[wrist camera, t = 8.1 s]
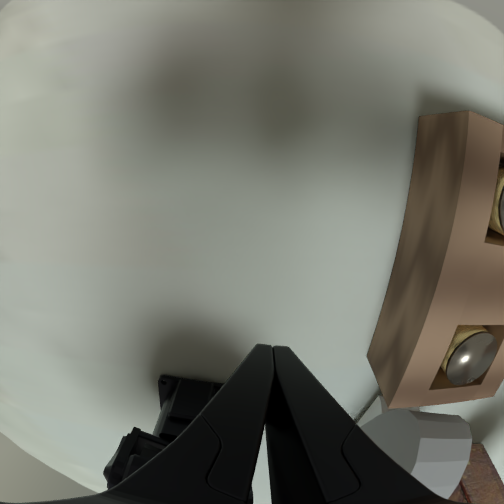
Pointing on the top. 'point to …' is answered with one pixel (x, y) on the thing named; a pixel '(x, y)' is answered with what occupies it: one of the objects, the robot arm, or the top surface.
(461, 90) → the top surface
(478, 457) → the brown wooden case
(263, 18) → the top surface
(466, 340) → the brass peg
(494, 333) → the walnut block
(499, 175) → the brass peg
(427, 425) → the alarm clock
